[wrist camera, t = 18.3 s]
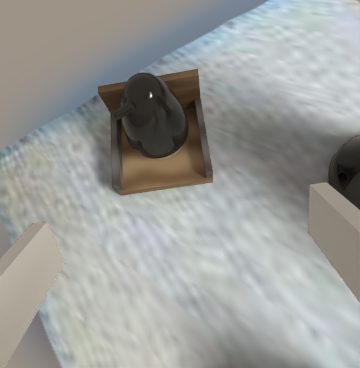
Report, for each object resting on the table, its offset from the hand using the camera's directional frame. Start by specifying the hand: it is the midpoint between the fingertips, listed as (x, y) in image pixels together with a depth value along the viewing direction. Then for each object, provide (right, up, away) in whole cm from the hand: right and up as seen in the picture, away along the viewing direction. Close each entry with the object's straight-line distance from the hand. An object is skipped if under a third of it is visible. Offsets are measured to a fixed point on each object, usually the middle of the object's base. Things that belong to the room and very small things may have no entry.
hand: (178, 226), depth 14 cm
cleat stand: (-3, +8, +35) cm, 36 cm away
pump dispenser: (-3, +9, +34) cm, 35 cm away
